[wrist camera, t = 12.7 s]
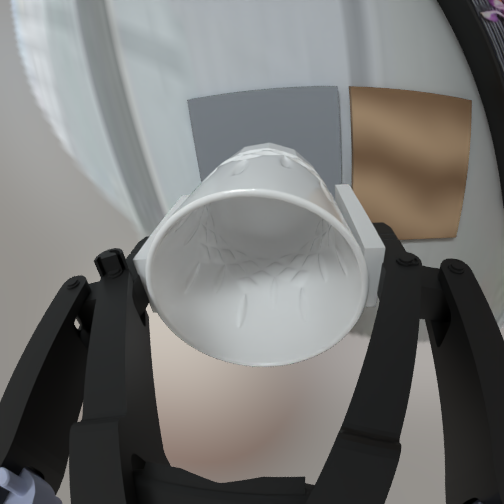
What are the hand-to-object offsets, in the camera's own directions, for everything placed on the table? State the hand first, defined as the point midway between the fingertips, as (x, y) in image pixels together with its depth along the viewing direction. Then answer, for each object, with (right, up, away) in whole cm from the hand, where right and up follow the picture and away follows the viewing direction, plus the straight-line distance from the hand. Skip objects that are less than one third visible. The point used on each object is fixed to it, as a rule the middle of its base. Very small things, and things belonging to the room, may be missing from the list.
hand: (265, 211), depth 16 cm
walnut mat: (+13, +5, +5) cm, 14 cm away
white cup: (0, +2, +2) cm, 3 cm away
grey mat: (+1, +4, +6) cm, 8 cm away
